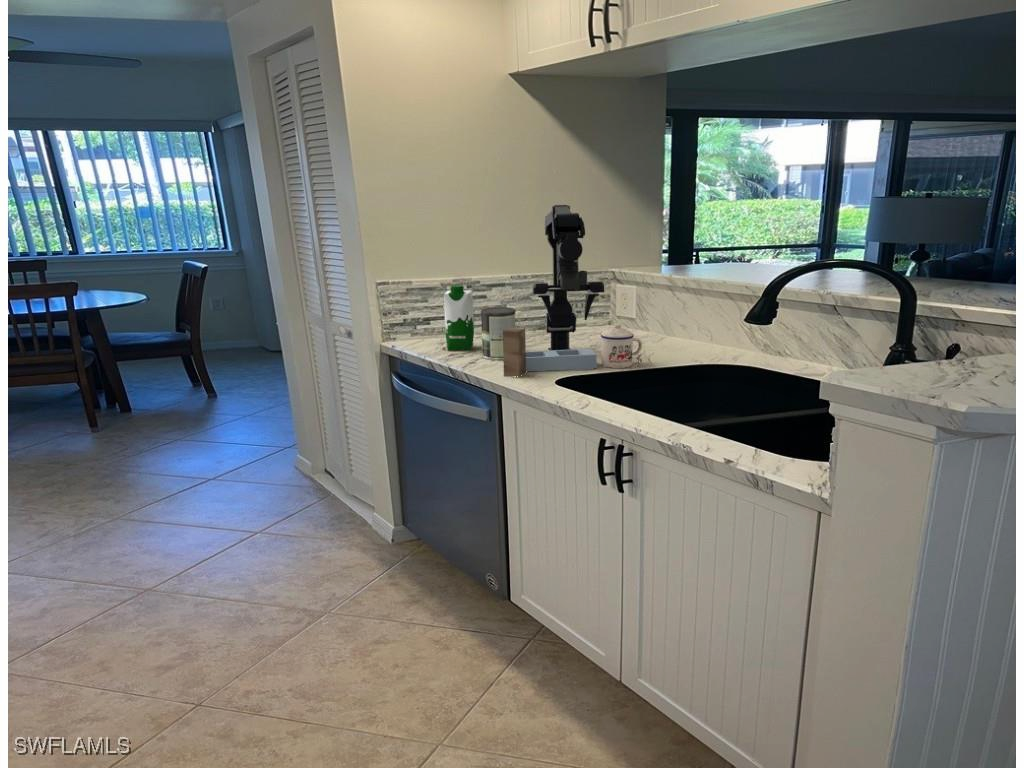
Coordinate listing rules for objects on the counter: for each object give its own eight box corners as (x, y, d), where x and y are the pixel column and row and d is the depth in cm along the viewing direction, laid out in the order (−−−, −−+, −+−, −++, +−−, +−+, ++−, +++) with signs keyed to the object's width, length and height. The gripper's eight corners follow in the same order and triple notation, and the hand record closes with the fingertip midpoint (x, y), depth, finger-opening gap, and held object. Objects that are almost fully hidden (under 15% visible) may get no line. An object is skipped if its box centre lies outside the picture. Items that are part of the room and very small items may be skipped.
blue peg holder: (517, 372, 210) (517, 358, 209) (514, 365, 217) (514, 352, 216) (596, 368, 212) (596, 354, 211) (590, 362, 220) (590, 348, 219)
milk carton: (444, 351, 239) (441, 287, 234) (449, 345, 247) (446, 283, 242) (472, 351, 238) (469, 287, 233) (476, 345, 246) (474, 283, 241)
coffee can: (475, 358, 228) (473, 311, 225) (494, 351, 237) (492, 306, 233) (504, 361, 223) (503, 313, 220) (522, 354, 232) (521, 308, 228)
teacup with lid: (607, 370, 210) (608, 328, 207) (595, 362, 219) (596, 322, 216) (648, 366, 213) (649, 325, 210) (634, 359, 222) (635, 319, 219)
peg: (511, 372, 210) (510, 327, 207) (526, 373, 208) (525, 328, 205) (503, 376, 206) (502, 330, 203) (519, 377, 204) (518, 331, 201)
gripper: (533, 262, 195) (535, 323, 197) (607, 260, 195) (607, 321, 197) (531, 262, 206) (533, 320, 208) (601, 260, 206) (601, 318, 208)
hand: (568, 320), depth 205 cm, fingers open, 9 cm apart
